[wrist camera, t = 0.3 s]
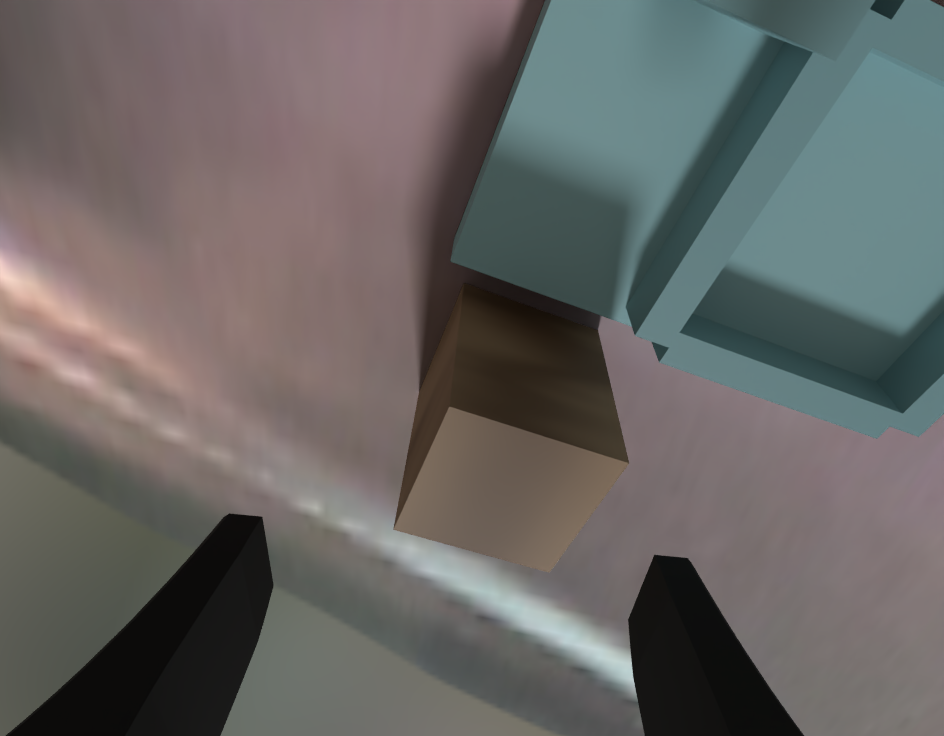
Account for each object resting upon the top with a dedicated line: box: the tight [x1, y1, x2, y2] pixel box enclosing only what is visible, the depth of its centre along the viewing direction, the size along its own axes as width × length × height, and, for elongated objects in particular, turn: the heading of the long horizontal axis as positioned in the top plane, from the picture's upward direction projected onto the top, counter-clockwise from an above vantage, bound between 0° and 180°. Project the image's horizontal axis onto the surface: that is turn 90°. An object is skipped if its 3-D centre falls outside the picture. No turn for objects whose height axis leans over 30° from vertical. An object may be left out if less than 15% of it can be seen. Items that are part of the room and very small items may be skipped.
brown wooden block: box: [393, 283, 629, 572], centre depth 18 cm, size 4×4×6 cm
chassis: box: [450, 0, 944, 439], centre depth 12 cm, size 14×16×5 cm
